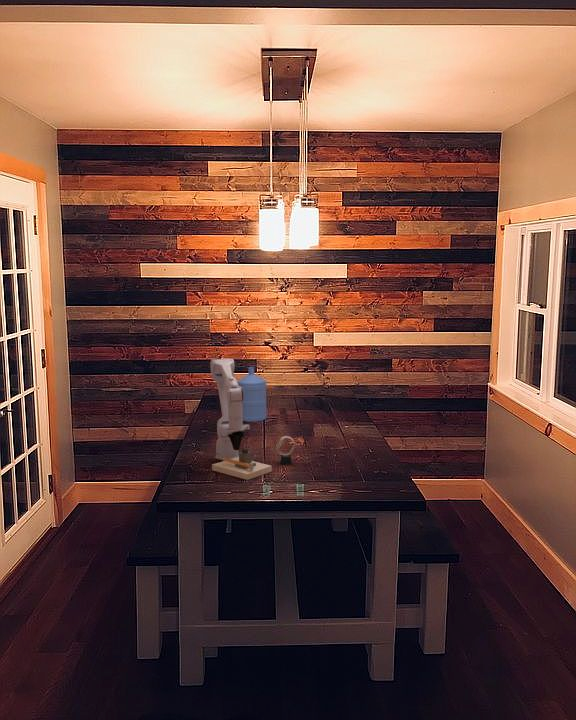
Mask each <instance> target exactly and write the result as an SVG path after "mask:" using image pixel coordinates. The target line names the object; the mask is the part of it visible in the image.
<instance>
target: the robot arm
mask: <svg viewBox="0 0 576 720" xmlns="http://www.w3.org/2000/svg"><path fill="white" fill-rule="evenodd" d="M235 366H236V363H235V360H234V359H233V358H218V359H214V358H212V359H211V360H210V373H211V378H212V381H214V382H215V383H216V386H217V389H218V395H219V403H220V408H221V415H222V416H221V417H220V418H219V419H218V420H217V423H216V433H217V441H216V442H215V443H216V444H215V447H216V448H215V449H216V450H215V451H216V455H215V457H214V459H217V460H220V461H223V458H228V459H232V458H235V457H238V458H239V450H240V446H241V443H242V440H243V438H244V436H245V432H244V431H246V430H248V431H249V430H250V429H251V425H250V424H248V423H247V424H243V423H244V421H243V419H242V402H243V400H244V393H243V389H242V387H239V385H238V382H237V381H238V380H237V378H236V377H234V373H235ZM241 401H242V402H241Z"/></svg>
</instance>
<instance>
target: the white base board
mask: <svg viewBox="0 0 576 720" xmlns="http://www.w3.org/2000/svg"><path fill="white" fill-rule="evenodd" d="M232 460H236V461H239V458H238V457H235V458H232ZM252 462H253V463H256V466H254V469H253V470H250V469H249V468H247V469H244V468H240V467H236V466H235V463H231V462H227V461H223V460H221V461H220V462H217V463H213V464H211V469H212V470H211V471H215V472H216V473H222V474H225V475H228V476H232V477H235V478H239V479H241V480H242V479H243V480H246V481H249V480H251V479H255V478H257V477H260V476H263V475H265V474H269V473H271V472H272V471H273V468H272V467H273V466H272V465H270V464H267V463H266V464H265V463H261V462H257V461H255V460H252Z"/></svg>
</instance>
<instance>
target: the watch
mask: <svg viewBox="0 0 576 720" xmlns="http://www.w3.org/2000/svg"><path fill="white" fill-rule="evenodd" d="M285 439H289V440H291V441H292V448H291V449H290V451H289V452H285V453H283V452H281V451H280V450H279V449H280V448H281V446H282V445H283V443H284V440H285ZM295 447H296V445H295V440H294V439H293V437H291V436H287V435H284V436H281V437H280V438H279V440H278V441H277V443H276V445H275V448H276V451H277V453H278V454H279V455H280V465H292V454H293V452H294V450H295Z"/></svg>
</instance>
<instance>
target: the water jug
mask: <svg viewBox="0 0 576 720" xmlns="http://www.w3.org/2000/svg"><path fill="white" fill-rule="evenodd" d="M247 369H248V370H247V371H248V374H247V375H246V376H243V377H242V378H239V379H238V380H237V382H238V385H239V387H242V389H243V393H244V400H243V402H242V401H241V402H242V419H243V422H244V421H245V422H246V423H257V422H262V421H265V420H267V418H268V414H267V403H268V402H267V380H266V379H264V378H262V377H260V376H258V375H255V367H254V366H249V367H248V368H247Z"/></svg>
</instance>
